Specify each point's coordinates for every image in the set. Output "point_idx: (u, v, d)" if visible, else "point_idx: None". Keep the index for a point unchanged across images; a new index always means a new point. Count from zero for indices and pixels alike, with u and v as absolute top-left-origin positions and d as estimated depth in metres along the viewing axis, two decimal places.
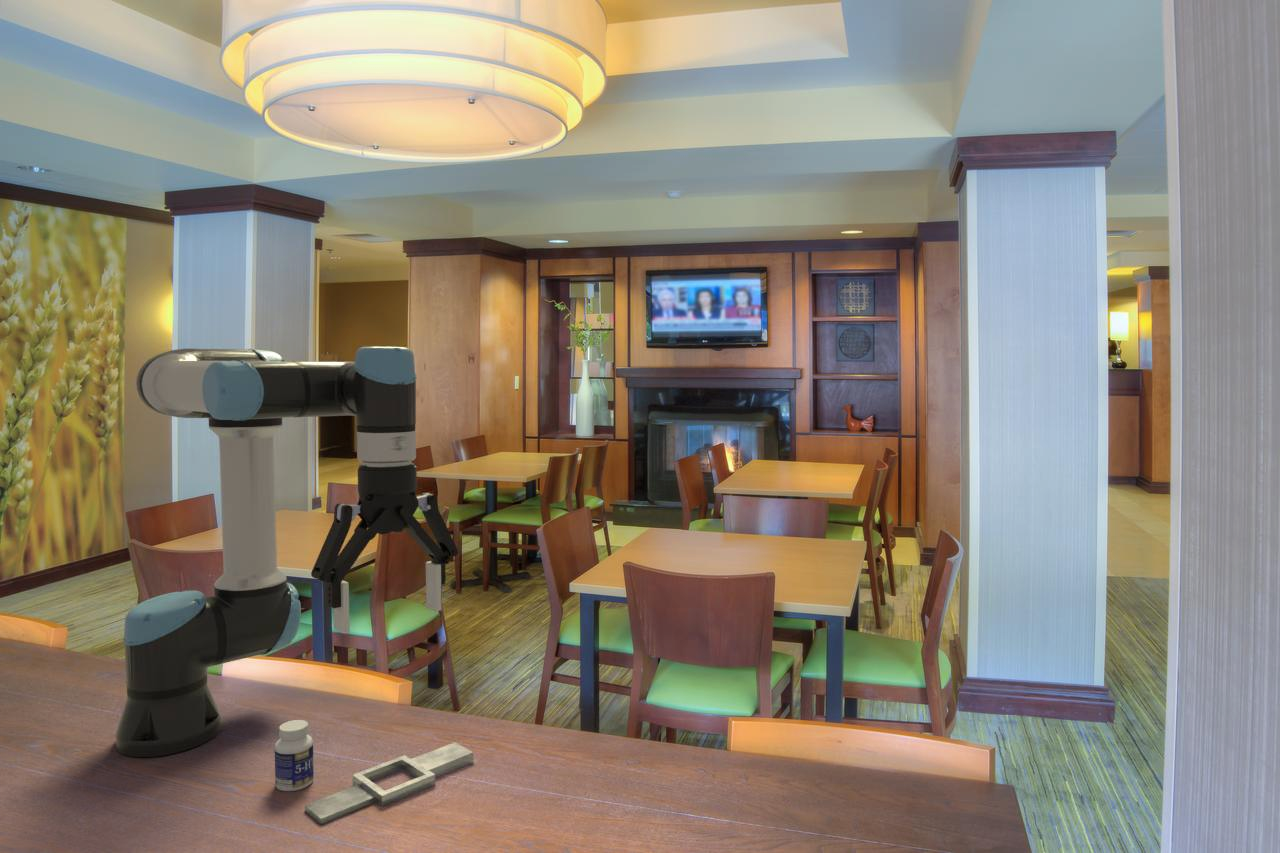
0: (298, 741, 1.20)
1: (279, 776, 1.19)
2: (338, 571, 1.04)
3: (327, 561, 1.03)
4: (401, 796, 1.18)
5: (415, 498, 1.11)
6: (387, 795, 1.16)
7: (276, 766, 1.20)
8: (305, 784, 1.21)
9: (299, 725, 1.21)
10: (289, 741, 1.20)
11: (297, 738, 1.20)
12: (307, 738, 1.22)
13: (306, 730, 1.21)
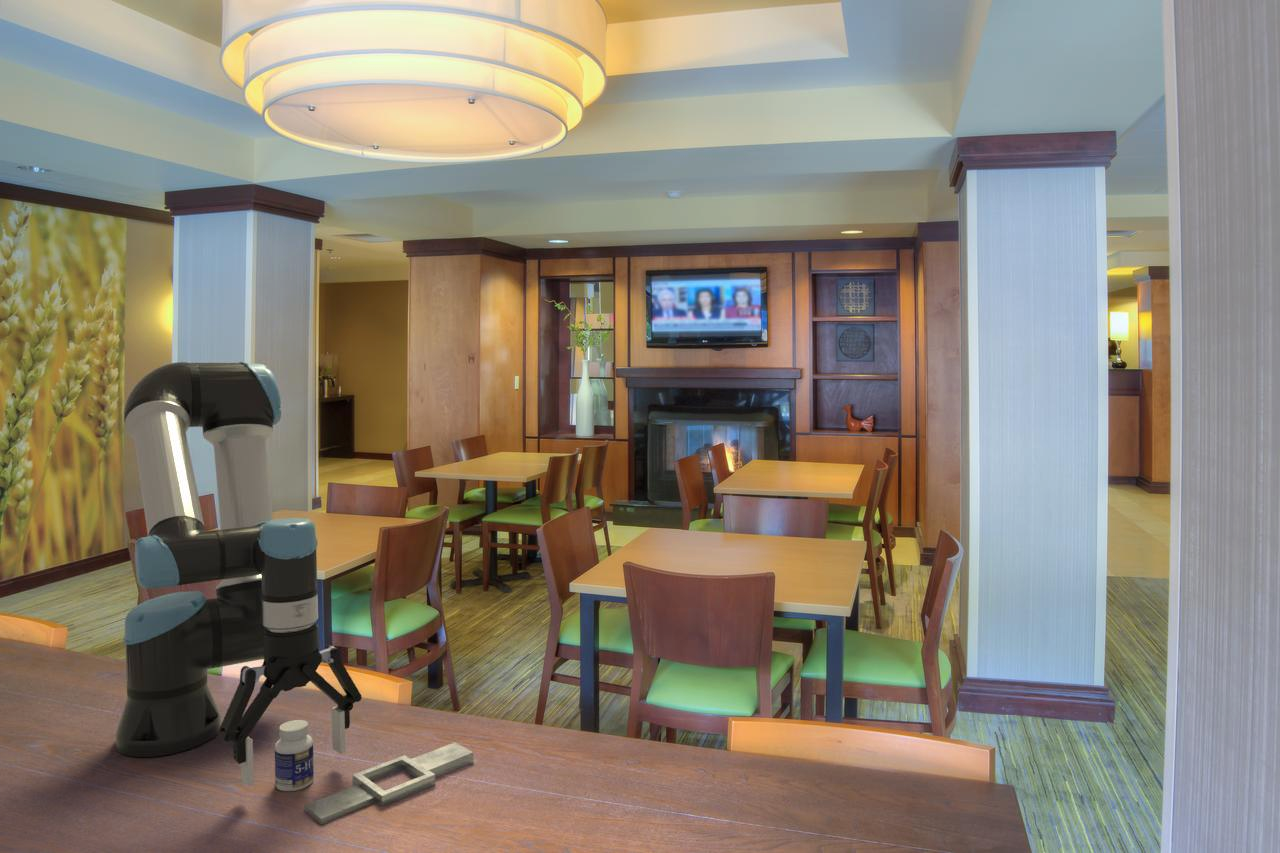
0: (298, 741, 1.20)
1: (279, 776, 1.19)
2: (242, 730, 1.15)
3: (231, 723, 1.13)
4: (401, 796, 1.18)
5: (318, 654, 1.22)
6: (387, 795, 1.16)
7: (276, 766, 1.20)
8: (305, 784, 1.21)
9: (299, 726, 1.21)
10: (289, 741, 1.20)
11: (297, 738, 1.20)
12: (307, 738, 1.22)
13: (306, 730, 1.21)
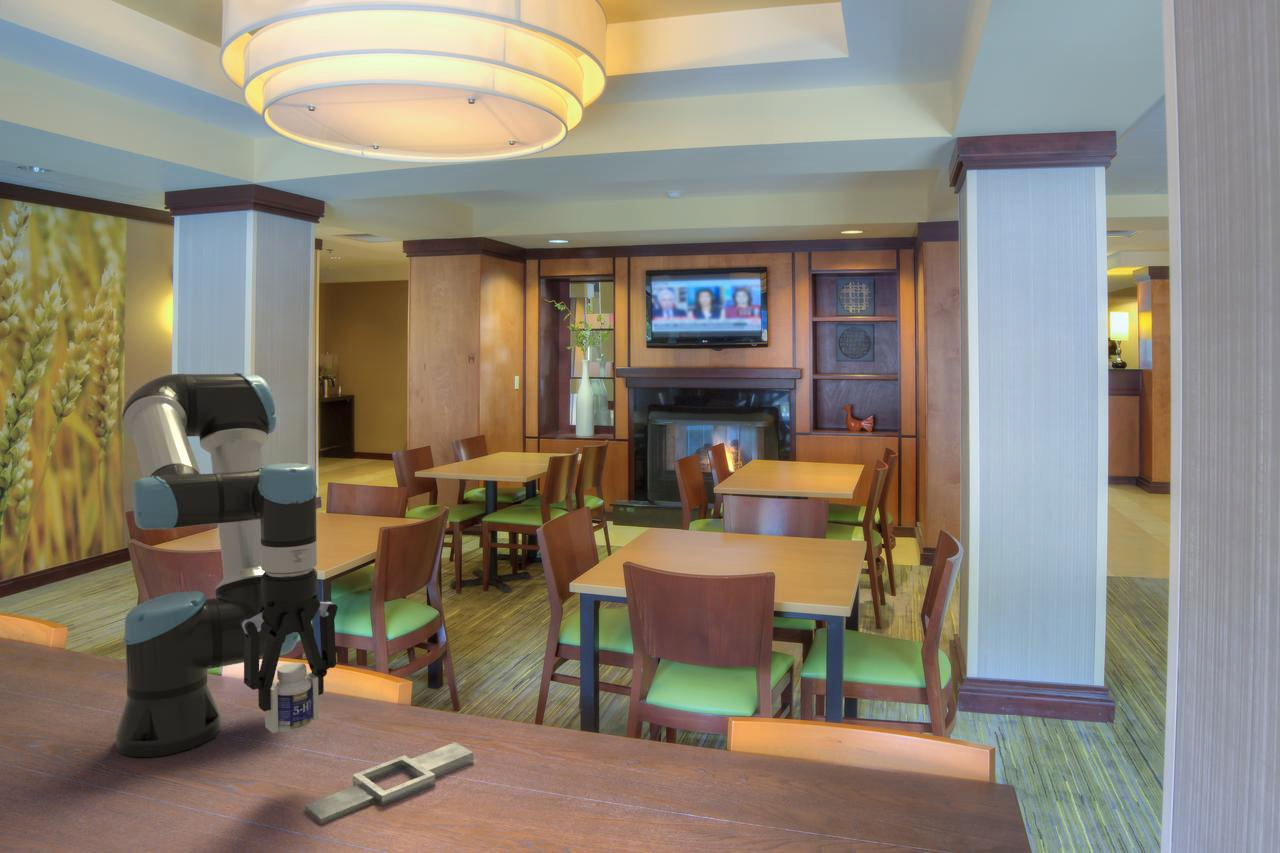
0: (296, 683, 1.20)
1: None
2: (265, 680, 1.17)
3: (251, 673, 1.16)
4: (401, 796, 1.18)
5: (318, 601, 1.22)
6: (387, 795, 1.16)
7: None
8: (303, 726, 1.20)
9: (298, 668, 1.21)
10: (287, 683, 1.19)
11: (295, 679, 1.20)
12: (305, 680, 1.22)
13: (304, 672, 1.21)
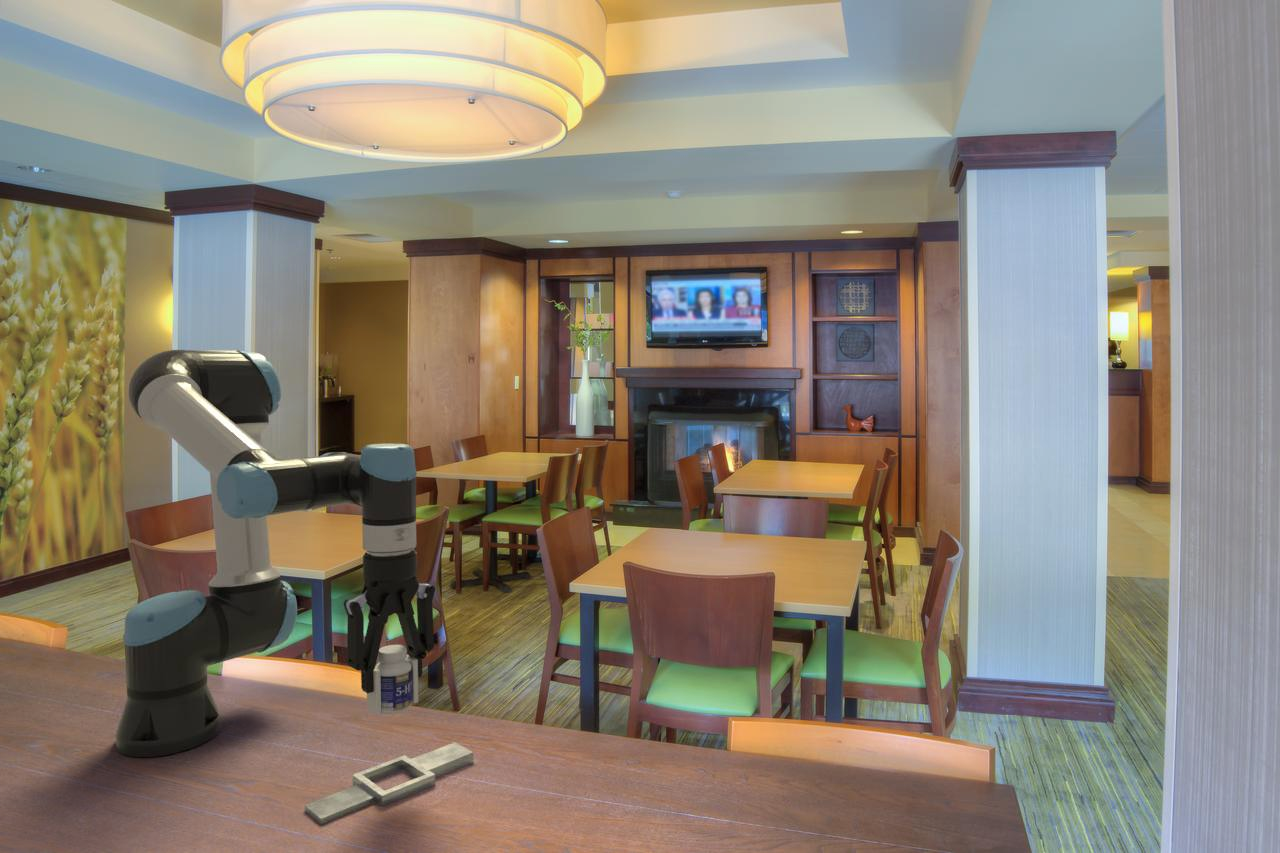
0: (398, 664, 1.19)
1: None
2: (368, 661, 1.16)
3: (356, 654, 1.15)
4: (401, 796, 1.18)
5: (417, 582, 1.21)
6: (387, 795, 1.16)
7: None
8: (405, 708, 1.19)
9: (398, 649, 1.20)
10: (389, 664, 1.18)
11: (397, 660, 1.19)
12: (406, 662, 1.20)
13: (405, 653, 1.20)
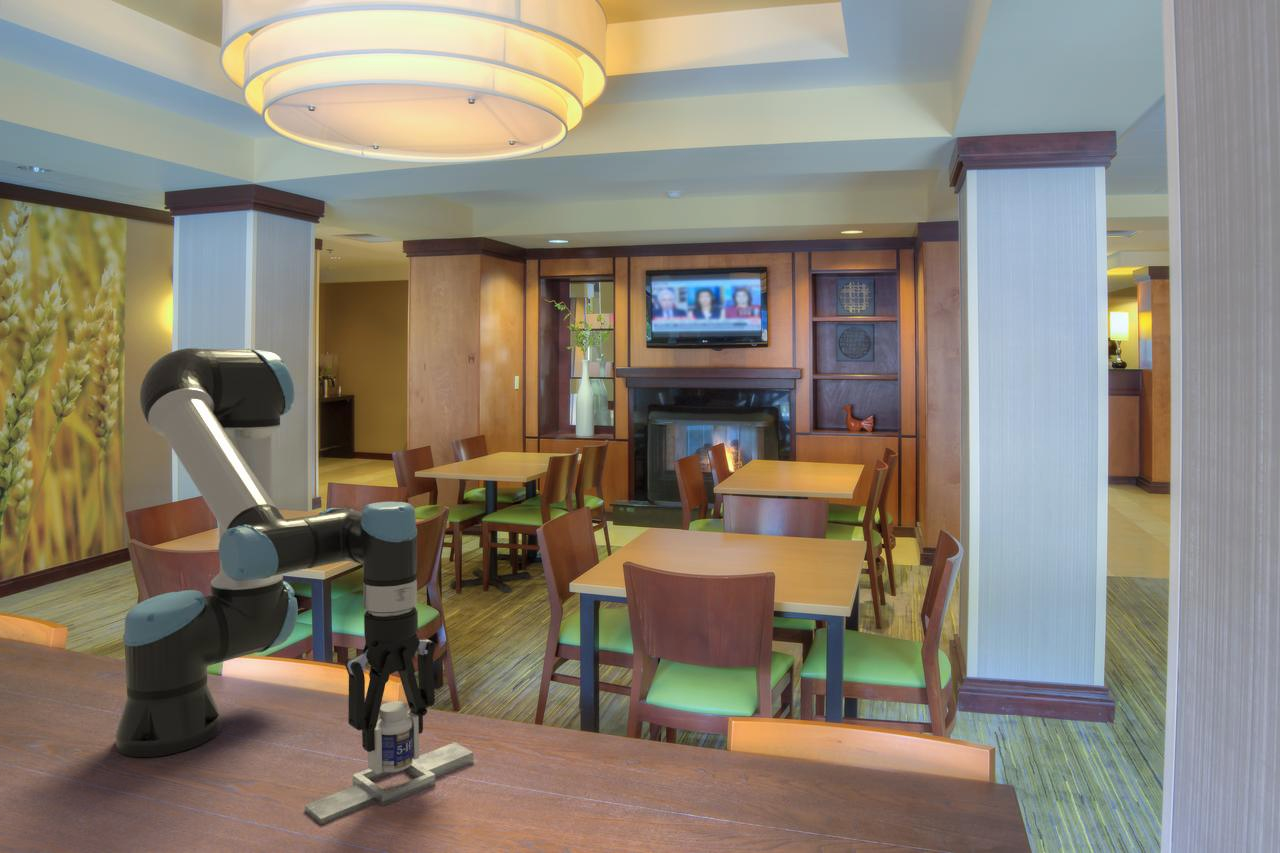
0: (399, 722, 1.20)
1: None
2: (370, 720, 1.17)
3: (357, 714, 1.15)
4: (401, 796, 1.18)
5: (418, 639, 1.22)
6: (387, 795, 1.16)
7: None
8: (406, 766, 1.20)
9: (399, 706, 1.21)
10: (390, 722, 1.19)
11: (398, 718, 1.19)
12: (407, 719, 1.21)
13: (406, 711, 1.21)
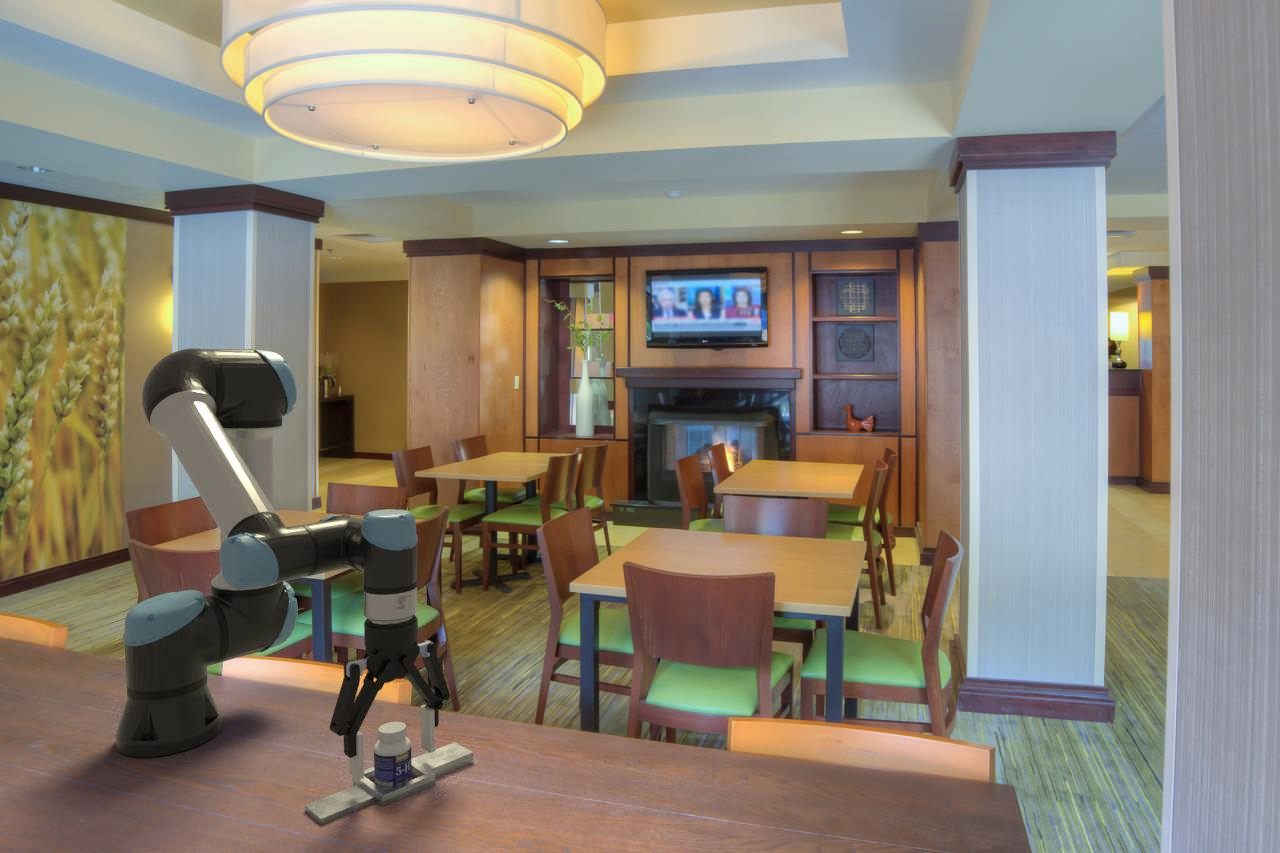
0: (398, 743, 1.20)
1: (380, 778, 1.19)
2: (353, 725, 1.15)
3: (342, 718, 1.14)
4: (401, 796, 1.18)
5: (417, 646, 1.22)
6: (387, 795, 1.16)
7: (376, 768, 1.19)
8: None
9: (398, 727, 1.21)
10: (389, 743, 1.19)
11: (397, 740, 1.19)
12: (405, 740, 1.21)
13: (405, 732, 1.21)
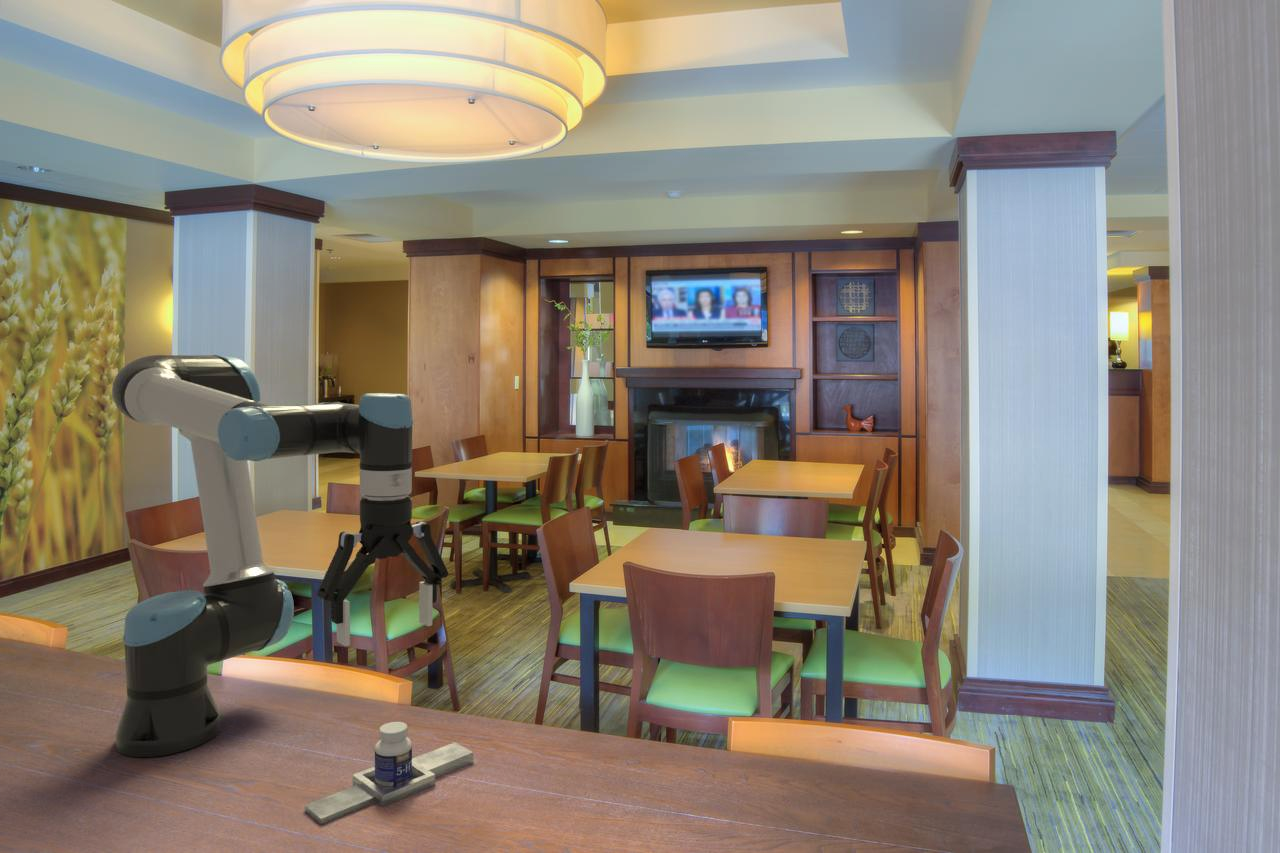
0: (399, 743, 1.20)
1: (380, 778, 1.19)
2: (341, 592, 1.18)
3: (331, 583, 1.17)
4: (401, 796, 1.18)
5: (410, 527, 1.26)
6: (387, 795, 1.16)
7: (377, 768, 1.19)
8: None
9: (399, 727, 1.21)
10: (390, 743, 1.19)
11: (398, 740, 1.19)
12: (406, 740, 1.21)
13: (406, 732, 1.21)
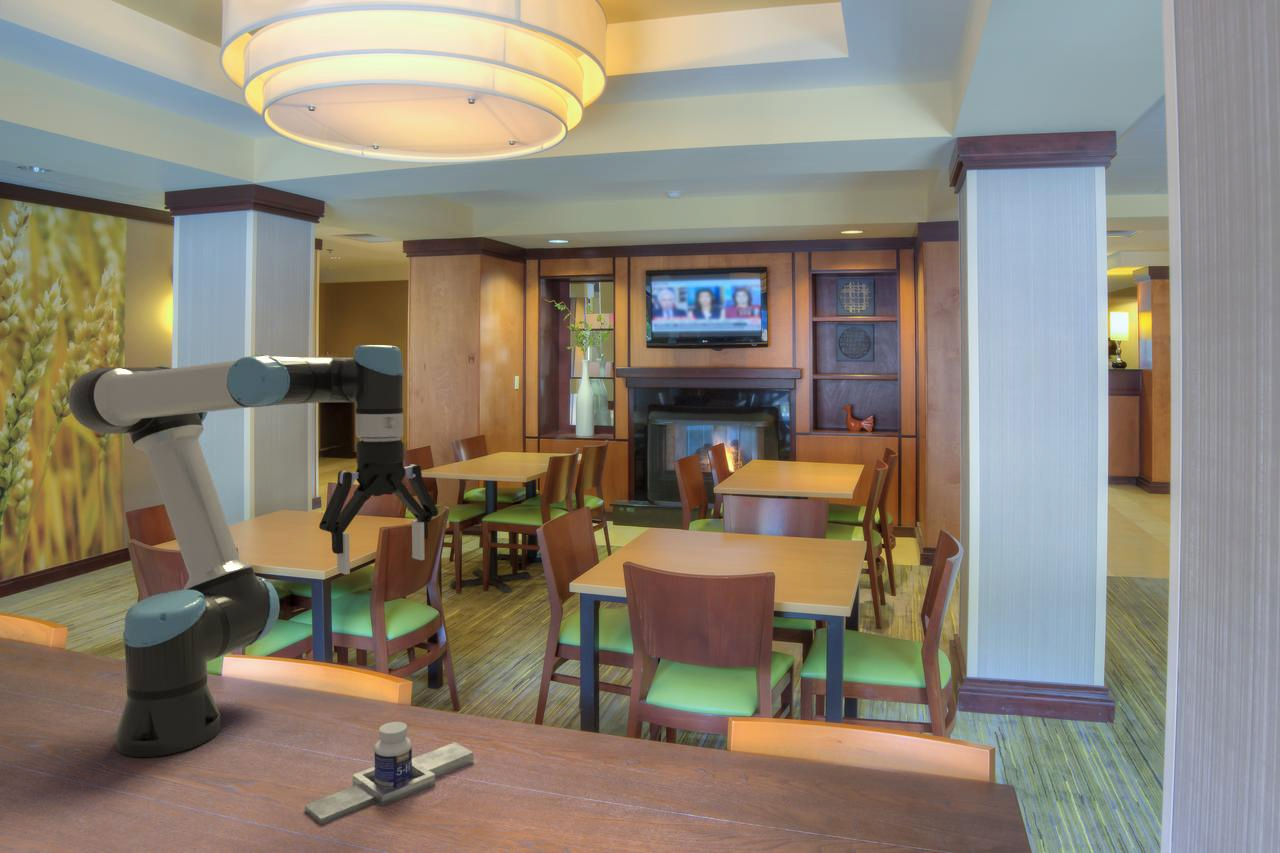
0: (398, 743, 1.20)
1: (380, 778, 1.19)
2: (340, 524, 1.30)
3: (332, 516, 1.29)
4: (401, 796, 1.18)
5: (403, 468, 1.38)
6: (387, 795, 1.16)
7: (377, 768, 1.19)
8: None
9: (399, 728, 1.21)
10: (390, 743, 1.19)
11: (398, 740, 1.19)
12: (406, 740, 1.21)
13: (406, 732, 1.21)
